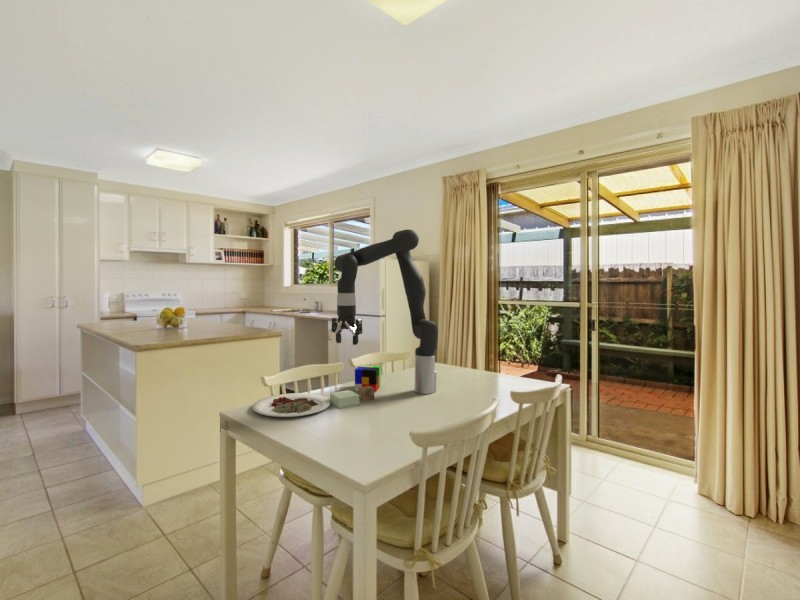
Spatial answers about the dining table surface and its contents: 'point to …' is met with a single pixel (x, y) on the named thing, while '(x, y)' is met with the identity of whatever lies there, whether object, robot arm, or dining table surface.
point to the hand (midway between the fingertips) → (346, 343)
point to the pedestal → (344, 399)
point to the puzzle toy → (367, 377)
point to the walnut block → (366, 393)
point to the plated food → (291, 405)
